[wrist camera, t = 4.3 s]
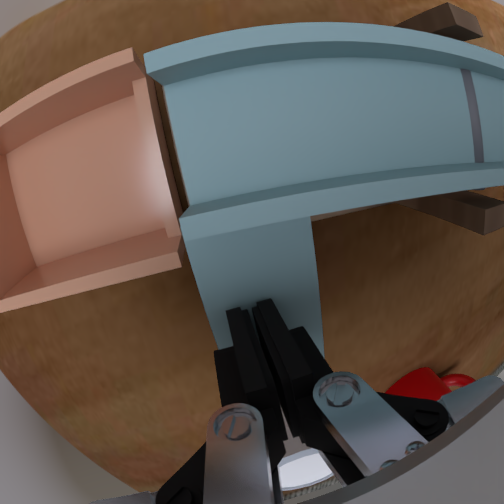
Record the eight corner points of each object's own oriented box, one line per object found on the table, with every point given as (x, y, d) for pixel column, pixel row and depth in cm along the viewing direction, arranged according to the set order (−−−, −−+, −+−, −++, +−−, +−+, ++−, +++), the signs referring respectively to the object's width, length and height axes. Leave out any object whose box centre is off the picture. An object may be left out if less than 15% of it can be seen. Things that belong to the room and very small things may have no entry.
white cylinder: (229, 385, 19) (243, 467, 12) (320, 359, 19) (360, 430, 13) (249, 432, 21) (264, 498, 15) (324, 411, 22) (353, 471, 15)
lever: (546, 86, 7) (583, 88, 3) (545, 272, 11) (574, 292, 8) (153, 69, 8) (110, 36, 4) (235, 377, 12) (234, 438, 9)
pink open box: (154, 81, 12) (132, 47, 7) (188, 231, 15) (181, 266, 10) (3, 148, 11) (-50, 154, 6) (38, 274, 14) (-4, 313, 9)
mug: (450, 382, 26) (485, 419, 18) (372, 429, 25) (401, 478, 18) (463, 337, 23) (508, 377, 16) (375, 390, 22) (416, 450, 15)
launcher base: (468, 66, 13) (546, 60, 6) (483, 181, 17) (562, 204, 9) (159, 64, 11) (117, -23, 4) (199, 245, 15) (199, 342, 7)
